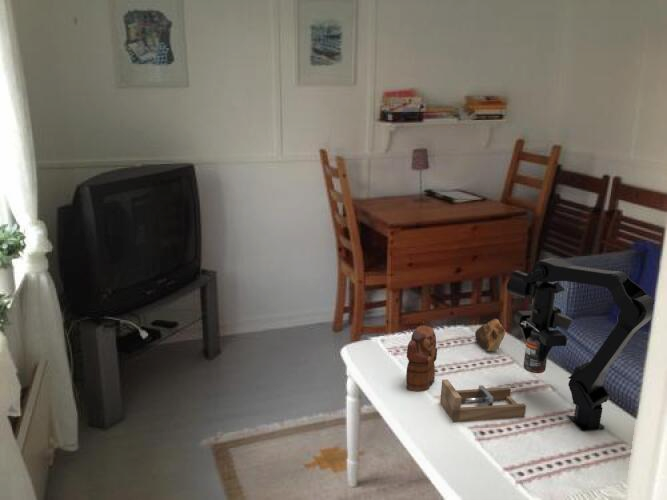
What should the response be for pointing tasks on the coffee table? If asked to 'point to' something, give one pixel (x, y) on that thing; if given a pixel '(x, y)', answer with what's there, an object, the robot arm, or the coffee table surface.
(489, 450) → the coffee table surface
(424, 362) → the wooden figurine
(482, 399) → the pusher
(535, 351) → the supplement bottle
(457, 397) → the wooden tray
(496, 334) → the decorative rock
